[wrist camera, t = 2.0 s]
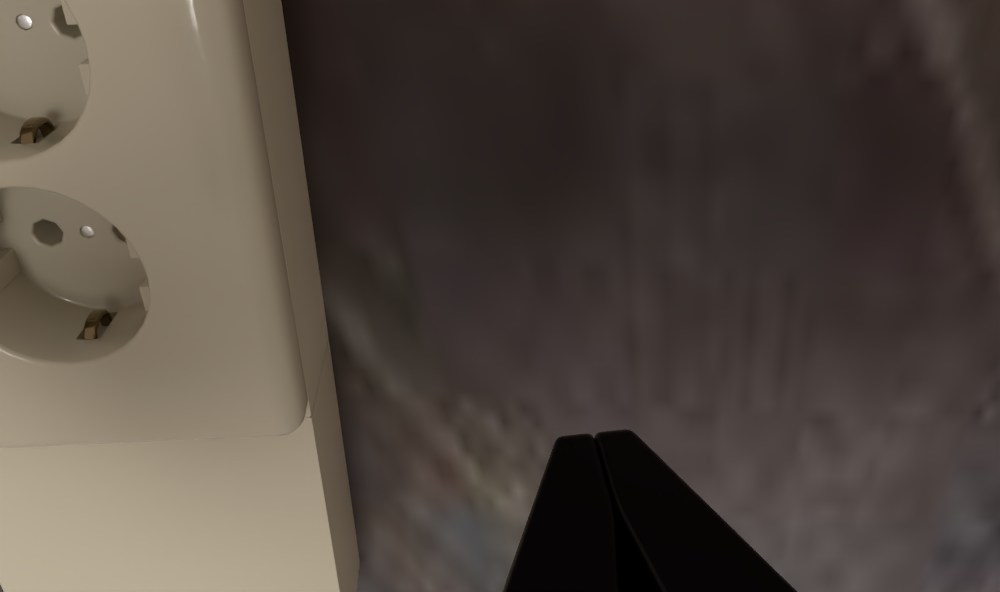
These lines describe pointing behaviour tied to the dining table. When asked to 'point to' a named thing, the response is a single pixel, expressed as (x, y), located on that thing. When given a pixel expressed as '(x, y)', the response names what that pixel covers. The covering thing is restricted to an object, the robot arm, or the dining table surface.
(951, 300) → the dining table surface
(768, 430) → the dining table surface
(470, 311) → the dining table surface
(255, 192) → the electrical outlet
